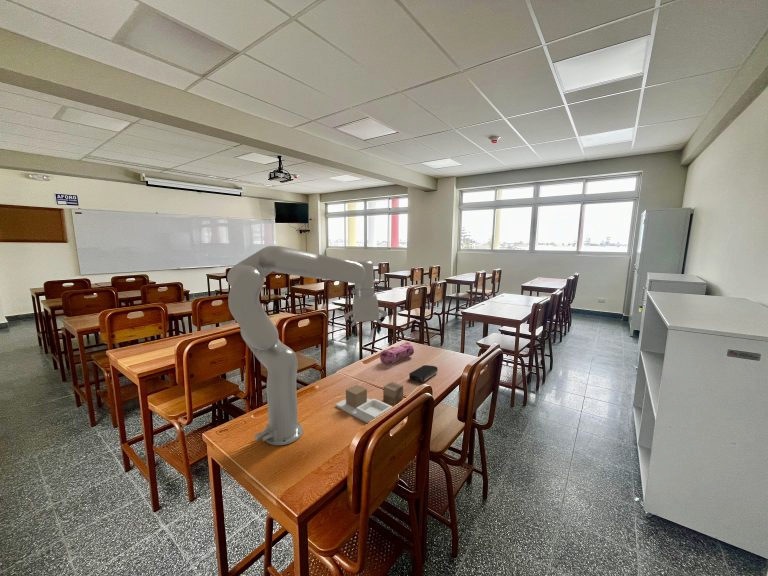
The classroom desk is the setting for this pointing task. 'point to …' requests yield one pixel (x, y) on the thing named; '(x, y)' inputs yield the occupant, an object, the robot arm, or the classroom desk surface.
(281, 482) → the classroom desk surface
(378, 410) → the assembly board
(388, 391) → the walnut block
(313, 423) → the classroom desk surface
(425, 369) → the black sponge
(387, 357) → the pencil case
